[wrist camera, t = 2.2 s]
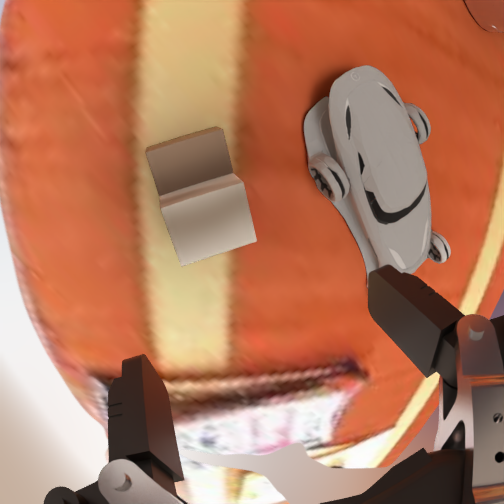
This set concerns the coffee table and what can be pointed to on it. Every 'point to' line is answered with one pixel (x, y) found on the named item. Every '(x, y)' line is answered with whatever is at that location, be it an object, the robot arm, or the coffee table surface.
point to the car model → (375, 169)
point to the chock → (200, 195)
